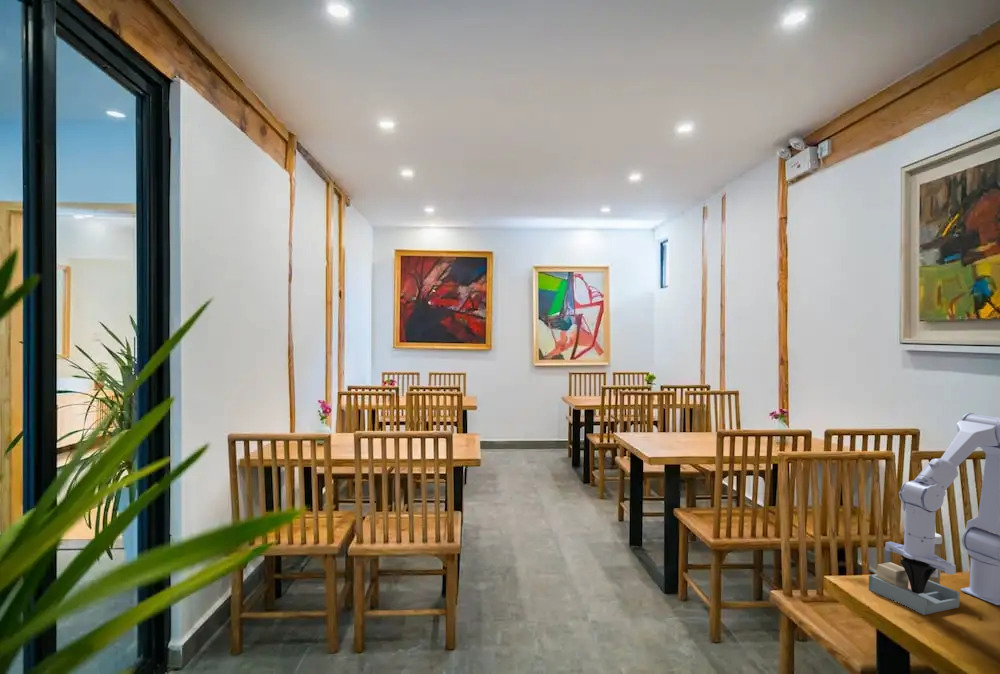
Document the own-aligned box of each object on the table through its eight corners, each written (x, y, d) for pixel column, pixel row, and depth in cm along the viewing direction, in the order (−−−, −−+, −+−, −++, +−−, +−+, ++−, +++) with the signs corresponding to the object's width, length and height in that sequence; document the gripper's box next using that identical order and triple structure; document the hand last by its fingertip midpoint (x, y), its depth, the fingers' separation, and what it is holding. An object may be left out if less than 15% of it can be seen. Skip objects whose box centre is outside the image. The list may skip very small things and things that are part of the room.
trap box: (902, 583, 142) (902, 569, 142) (959, 607, 130) (959, 592, 130) (868, 589, 138) (869, 575, 138) (924, 615, 126) (924, 599, 126)
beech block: (889, 580, 139) (890, 562, 139) (908, 588, 135) (908, 569, 135) (876, 582, 137) (877, 564, 137) (895, 590, 133) (896, 571, 133)
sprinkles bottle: (943, 588, 140) (945, 534, 140) (936, 592, 137) (937, 538, 137) (921, 581, 144) (923, 529, 143) (914, 585, 141) (916, 532, 141)
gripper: (877, 525, 136) (875, 581, 136) (941, 547, 122) (939, 609, 123) (897, 522, 138) (895, 577, 139) (962, 544, 125) (960, 604, 125)
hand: (917, 592), depth 131 cm, fingers closed
